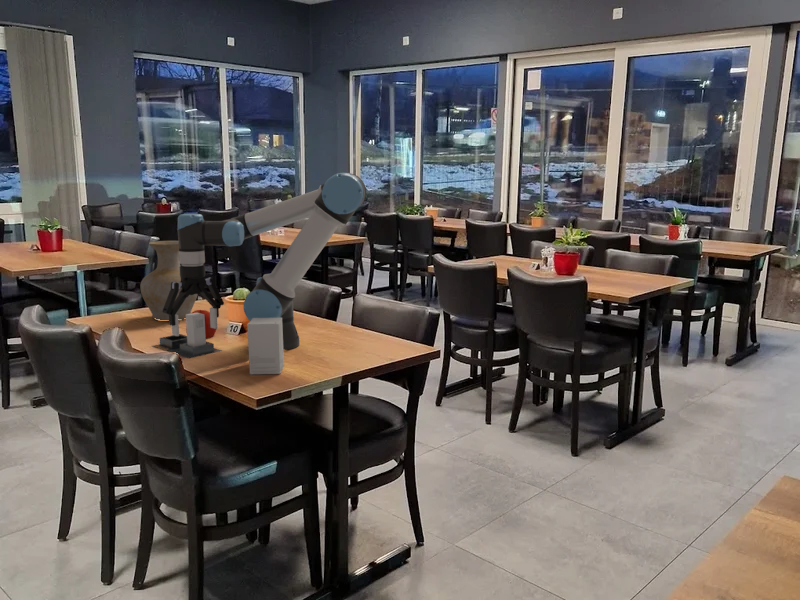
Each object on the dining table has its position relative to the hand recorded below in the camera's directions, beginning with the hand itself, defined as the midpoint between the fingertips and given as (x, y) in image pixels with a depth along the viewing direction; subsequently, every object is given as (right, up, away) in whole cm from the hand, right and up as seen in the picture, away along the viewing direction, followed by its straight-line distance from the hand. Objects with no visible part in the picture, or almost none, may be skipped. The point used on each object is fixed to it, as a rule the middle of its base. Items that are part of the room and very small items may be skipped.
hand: (195, 331), depth 208 cm
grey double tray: (-4, -7, +5) cm, 10 cm away
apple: (-5, -4, +22) cm, 23 cm away
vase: (-26, +3, +55) cm, 61 cm away
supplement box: (+25, -11, -14) cm, 31 cm away
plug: (0, -6, +1) cm, 6 cm away
